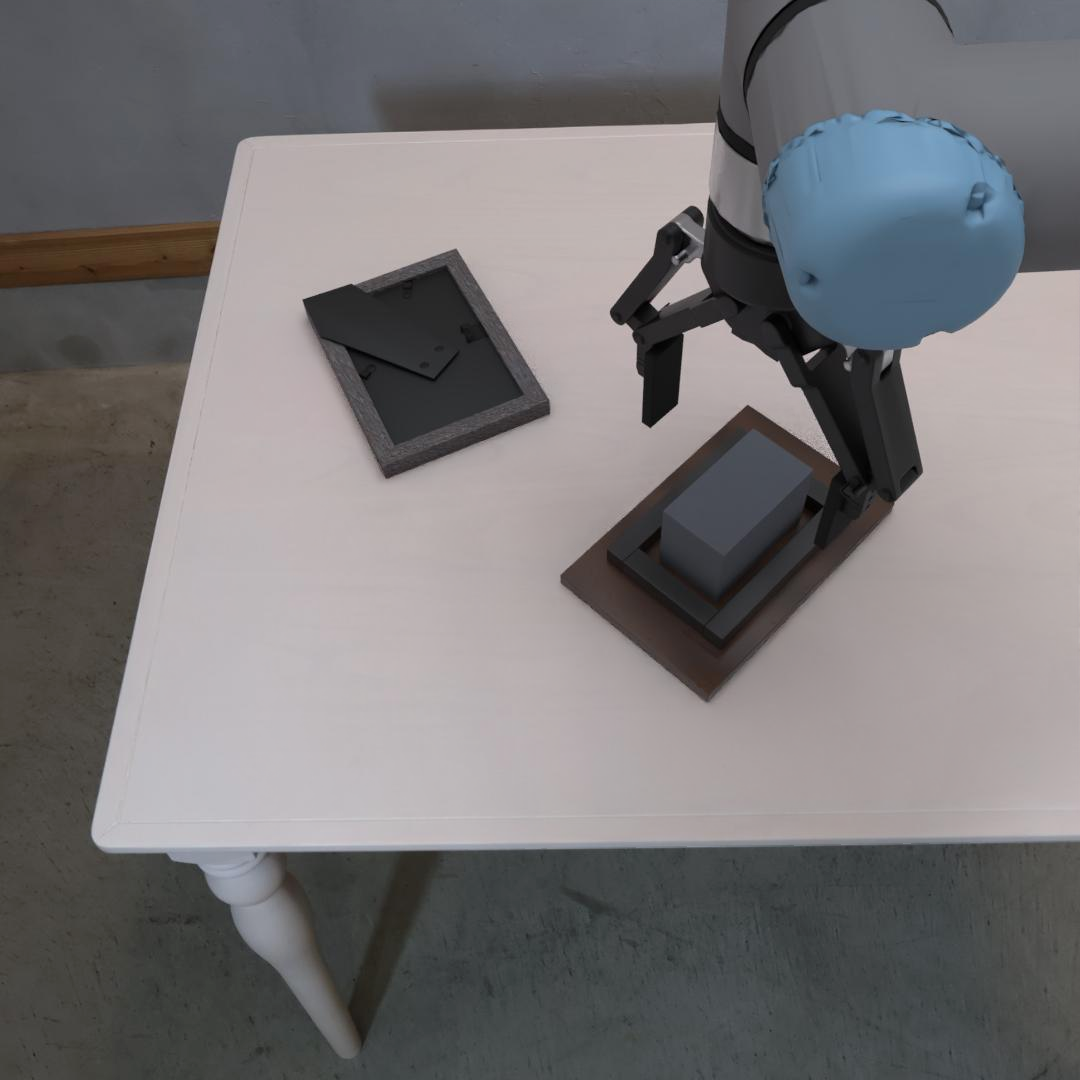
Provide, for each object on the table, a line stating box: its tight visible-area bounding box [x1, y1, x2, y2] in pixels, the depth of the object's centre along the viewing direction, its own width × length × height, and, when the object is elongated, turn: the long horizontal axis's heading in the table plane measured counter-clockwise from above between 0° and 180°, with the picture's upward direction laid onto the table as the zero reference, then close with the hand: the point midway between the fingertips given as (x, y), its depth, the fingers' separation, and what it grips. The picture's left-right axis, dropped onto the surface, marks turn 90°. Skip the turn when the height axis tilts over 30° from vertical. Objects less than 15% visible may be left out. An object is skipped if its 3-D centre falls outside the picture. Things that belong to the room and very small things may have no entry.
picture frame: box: [301, 248, 551, 479], centre depth 87 cm, size 13×2×18 cm
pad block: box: [659, 429, 814, 603], centre depth 74 cm, size 9×5×6 cm, turn 135°
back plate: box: [560, 404, 896, 703], centre depth 77 cm, size 20×13×2 cm, turn 136°
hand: (742, 471), depth 70 cm, fingers open, 13 cm apart
